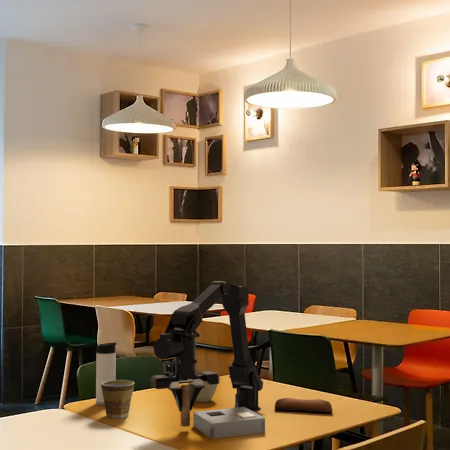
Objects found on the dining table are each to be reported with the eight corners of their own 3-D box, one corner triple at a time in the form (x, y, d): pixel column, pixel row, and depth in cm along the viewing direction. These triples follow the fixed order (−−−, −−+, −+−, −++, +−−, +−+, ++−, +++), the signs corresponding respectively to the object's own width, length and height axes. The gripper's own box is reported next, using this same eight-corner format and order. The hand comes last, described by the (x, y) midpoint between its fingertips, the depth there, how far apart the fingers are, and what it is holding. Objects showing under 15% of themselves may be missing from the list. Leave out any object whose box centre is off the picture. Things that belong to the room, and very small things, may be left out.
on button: (248, 419, 192) (248, 412, 192) (255, 423, 188) (255, 415, 188) (236, 420, 191) (236, 413, 191) (243, 424, 186) (243, 417, 187)
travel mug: (112, 406, 218) (112, 344, 218) (93, 405, 219) (93, 343, 220) (119, 401, 224) (119, 341, 224) (100, 401, 225) (100, 340, 226)
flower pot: (223, 399, 228) (223, 378, 228) (207, 405, 219) (207, 383, 219) (199, 396, 233) (199, 375, 233) (182, 401, 224) (182, 379, 225)
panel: (244, 420, 200) (244, 406, 200) (265, 432, 187) (264, 417, 187) (193, 425, 194) (193, 411, 194) (211, 438, 181) (211, 423, 181)
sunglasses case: (334, 408, 215) (333, 392, 212) (332, 424, 209) (331, 408, 206) (278, 404, 219) (276, 389, 216) (275, 420, 213) (273, 404, 210)
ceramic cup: (140, 415, 206) (141, 382, 206) (114, 422, 198) (114, 387, 199) (114, 408, 214) (114, 377, 215) (88, 414, 207) (88, 381, 207)
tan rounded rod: (188, 423, 190) (188, 384, 191) (191, 426, 188) (191, 386, 188) (179, 424, 189) (179, 385, 190) (182, 427, 187) (182, 387, 187)
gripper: (205, 348, 200) (205, 401, 200) (145, 352, 193) (144, 407, 193) (220, 354, 190) (220, 410, 190) (156, 358, 183) (156, 416, 182)
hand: (185, 410), depth 189 cm, fingers closed on tan rounded rod, 3 cm apart
